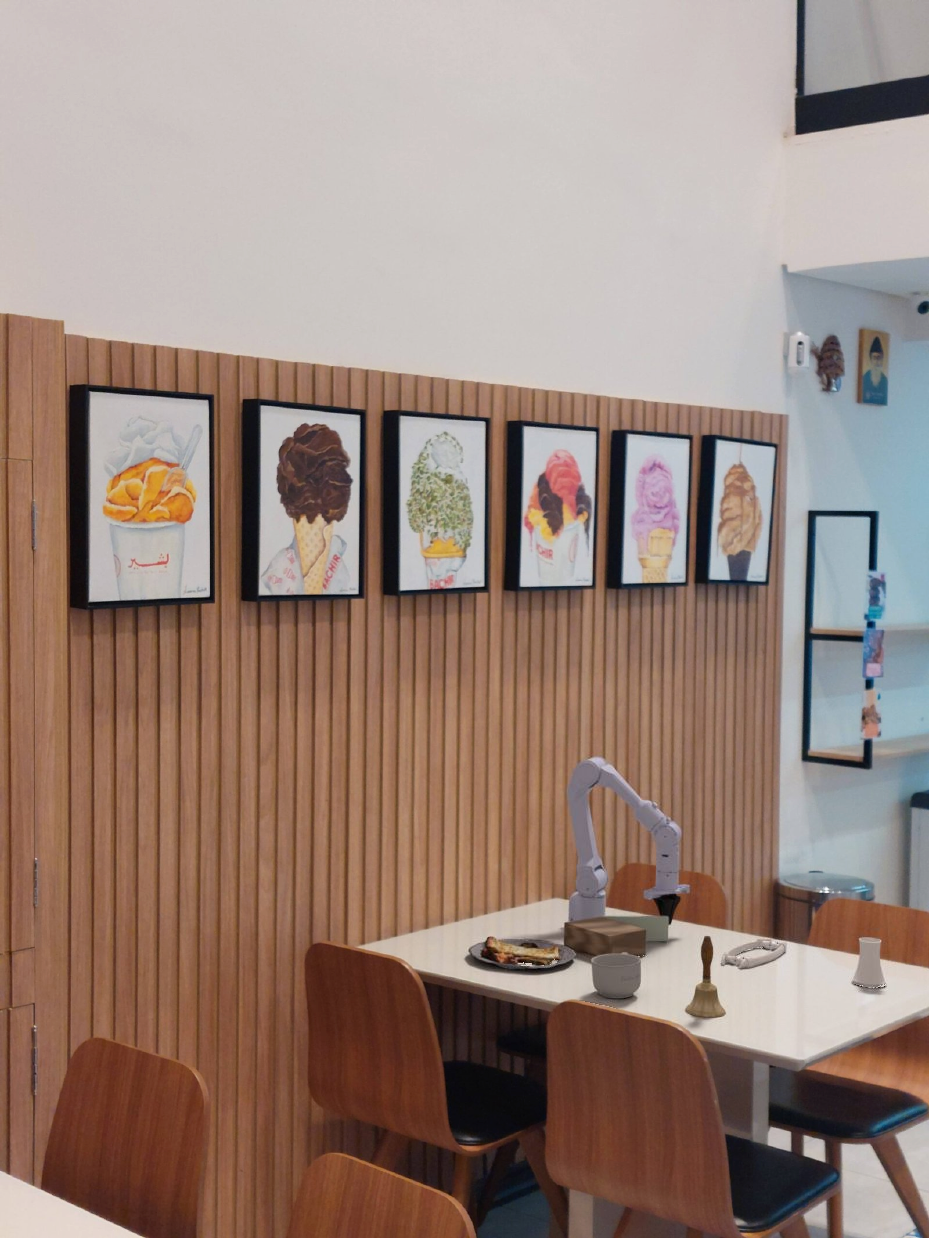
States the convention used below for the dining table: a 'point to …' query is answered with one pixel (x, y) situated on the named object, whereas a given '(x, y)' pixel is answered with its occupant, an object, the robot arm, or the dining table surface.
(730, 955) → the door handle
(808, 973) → the dining table surface
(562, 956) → the food plate
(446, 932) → the dining table surface
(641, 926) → the cabinet door
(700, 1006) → the hand bell
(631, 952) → the brown wooden block
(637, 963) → the teacup
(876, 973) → the cooling tower model
